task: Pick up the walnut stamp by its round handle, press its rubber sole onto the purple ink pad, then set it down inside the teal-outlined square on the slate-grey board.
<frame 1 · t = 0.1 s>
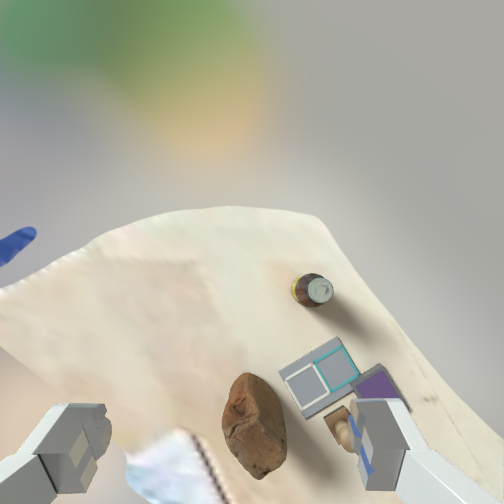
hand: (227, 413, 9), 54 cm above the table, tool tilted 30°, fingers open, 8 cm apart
ink pad: (376, 393, 60), on the table
block: (254, 393, 61), on the table
stamp: (339, 421, 60), on the table
sauce bottle: (303, 289, 63), on the table
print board: (320, 376, 61), on the table
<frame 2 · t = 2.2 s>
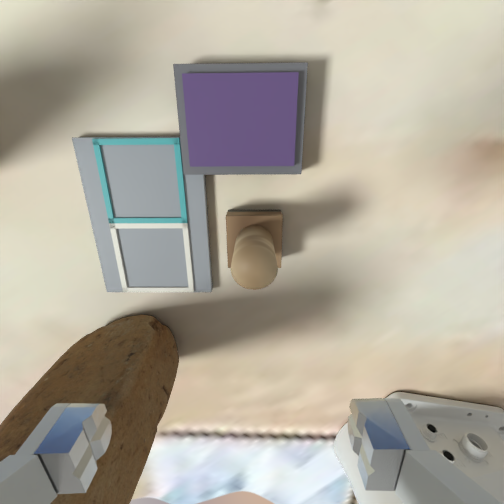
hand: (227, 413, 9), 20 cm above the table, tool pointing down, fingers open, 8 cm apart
ink pad: (242, 123, 24), on the table
block: (135, 339, 33), on the table
stamp: (254, 234, 28), on the table
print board: (151, 220, 27), on the table
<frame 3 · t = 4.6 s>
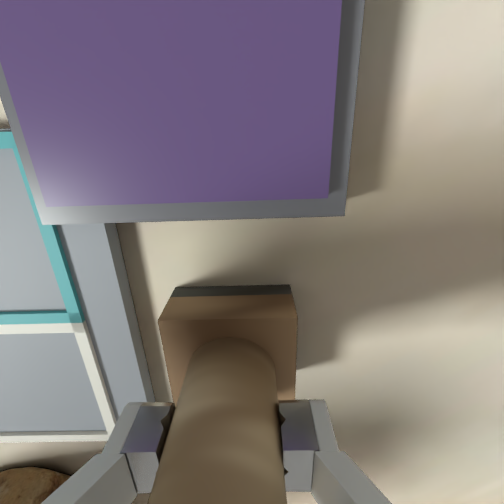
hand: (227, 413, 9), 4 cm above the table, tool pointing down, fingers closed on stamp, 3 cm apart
ink pad: (189, 90, 9), on the table
block: (35, 495, 18), on the table
stamp: (235, 332, 13), on the table, touching gripper
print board: (15, 311, 13), on the table
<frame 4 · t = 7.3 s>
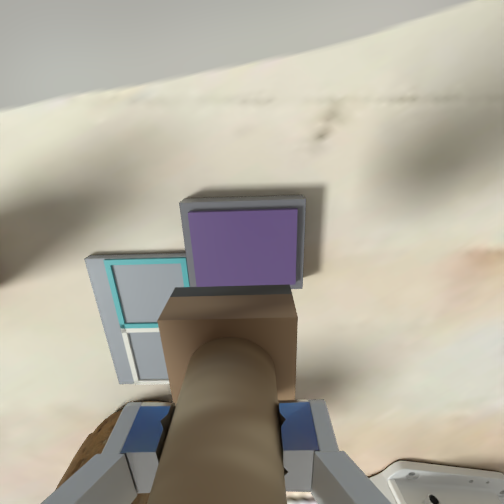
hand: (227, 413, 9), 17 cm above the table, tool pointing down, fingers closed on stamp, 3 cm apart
ink pad: (245, 241, 25), on the table
block: (147, 419, 34), on the table
stamp: (235, 332, 13), point 13 cm above the table, touching gripper
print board: (160, 321, 28), on the table
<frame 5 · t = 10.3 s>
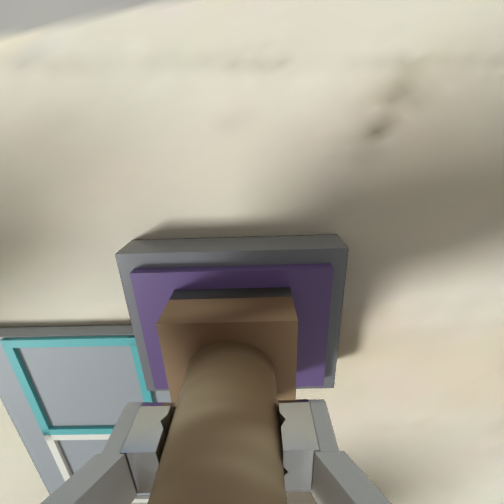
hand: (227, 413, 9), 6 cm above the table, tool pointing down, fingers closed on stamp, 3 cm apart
ink pad: (237, 307, 15), on the table
stamp: (235, 335, 13), point 2 cm above the table, touching gripper
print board: (108, 419, 18), on the table
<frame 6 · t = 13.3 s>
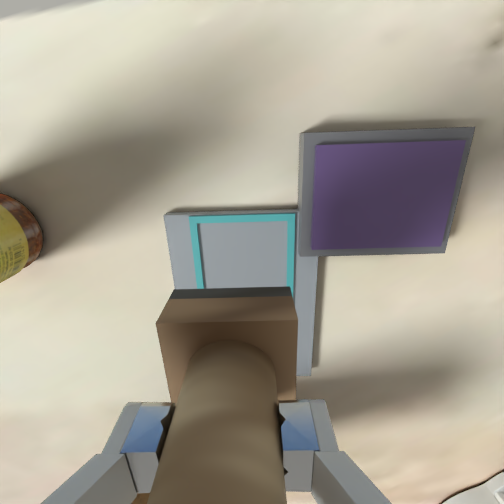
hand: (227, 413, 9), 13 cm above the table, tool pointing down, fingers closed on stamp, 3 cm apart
ink pad: (369, 192, 20), on the table
stamp: (235, 335, 13), point 9 cm above the table, touching gripper
sauce bottle: (6, 229, 21), on the table
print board: (246, 299, 23), on the table
when the fingers open (5 cm above the table, at t = 16.2 s): stamp stays where it is, resting on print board.
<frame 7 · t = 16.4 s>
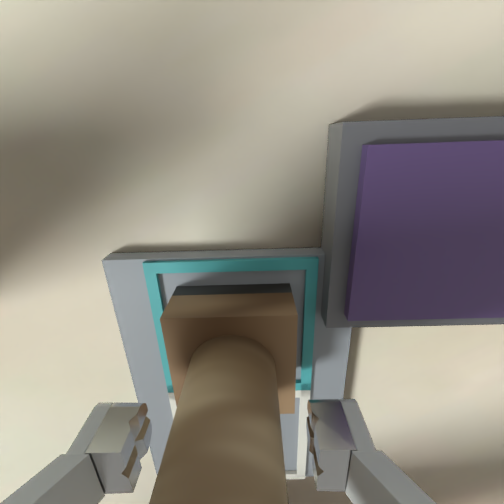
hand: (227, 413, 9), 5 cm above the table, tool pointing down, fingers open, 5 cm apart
ink pad: (439, 222, 12), on the table
stamp: (236, 331, 13), point 1 cm above the table, touching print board
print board: (239, 376, 15), on the table
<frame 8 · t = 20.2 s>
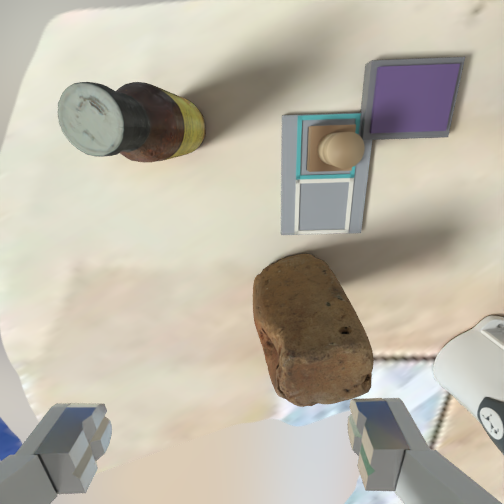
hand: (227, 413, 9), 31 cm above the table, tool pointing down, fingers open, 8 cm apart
ink pad: (403, 102, 33), on the table
block: (290, 276, 42), on the table
stamp: (327, 148, 34), point 1 cm above the table, touching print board
sauce bottle: (181, 128, 35), on the table
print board: (323, 177, 37), on the table
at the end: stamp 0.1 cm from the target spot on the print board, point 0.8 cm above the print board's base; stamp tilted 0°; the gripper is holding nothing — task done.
